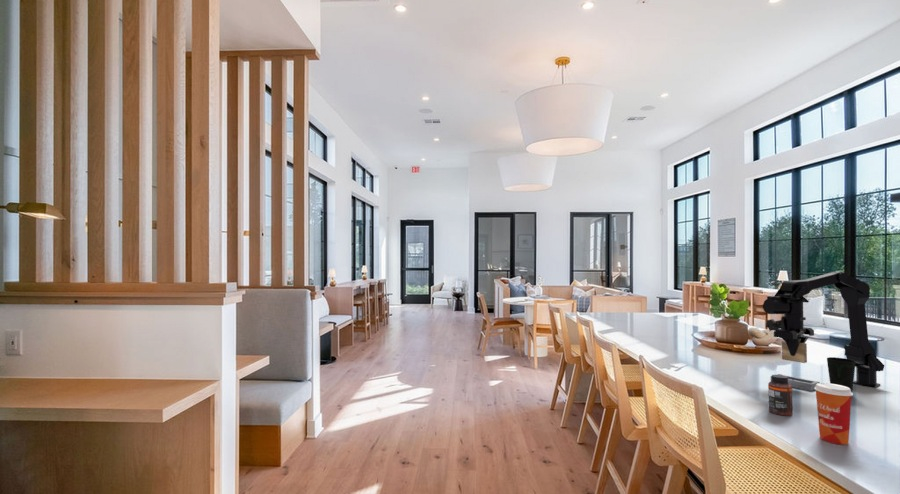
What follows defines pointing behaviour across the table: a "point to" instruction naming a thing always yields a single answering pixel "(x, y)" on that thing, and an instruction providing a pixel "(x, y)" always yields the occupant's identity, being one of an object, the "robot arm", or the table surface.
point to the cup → (841, 371)
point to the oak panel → (800, 353)
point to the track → (801, 383)
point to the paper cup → (833, 412)
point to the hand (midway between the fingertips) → (794, 355)
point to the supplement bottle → (780, 395)
